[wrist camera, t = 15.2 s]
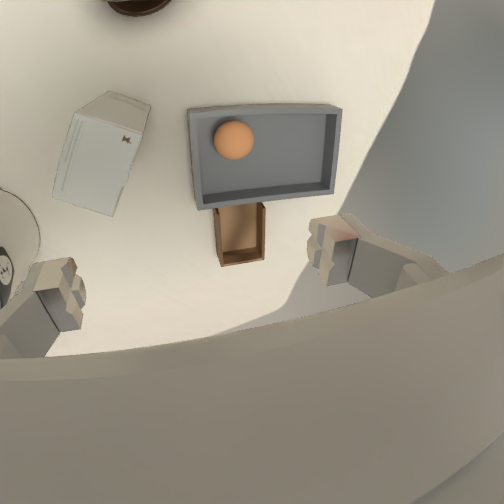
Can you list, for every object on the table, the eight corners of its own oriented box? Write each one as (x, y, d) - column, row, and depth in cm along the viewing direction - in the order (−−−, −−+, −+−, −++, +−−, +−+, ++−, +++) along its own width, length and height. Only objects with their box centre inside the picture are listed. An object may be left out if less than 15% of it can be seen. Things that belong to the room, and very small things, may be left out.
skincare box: (108, 89, 30) (73, 105, 18) (155, 106, 33) (148, 131, 21) (86, 149, 33) (47, 198, 21) (130, 164, 36) (113, 220, 24)
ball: (209, 117, 33) (210, 136, 38) (218, 153, 32) (218, 169, 37) (250, 109, 33) (246, 128, 38) (261, 144, 33) (256, 161, 38)
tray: (195, 199, 42) (197, 210, 39) (187, 109, 34) (189, 113, 32) (323, 184, 46) (333, 194, 43) (329, 104, 39) (342, 108, 36)
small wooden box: (217, 253, 48) (221, 266, 46) (212, 203, 43) (217, 214, 40) (257, 246, 50) (264, 259, 47) (258, 197, 45) (265, 208, 42)
